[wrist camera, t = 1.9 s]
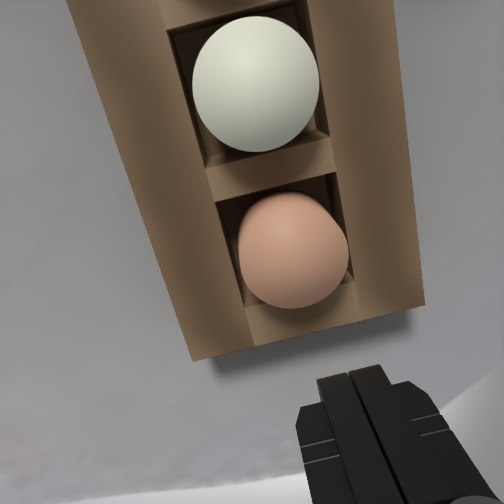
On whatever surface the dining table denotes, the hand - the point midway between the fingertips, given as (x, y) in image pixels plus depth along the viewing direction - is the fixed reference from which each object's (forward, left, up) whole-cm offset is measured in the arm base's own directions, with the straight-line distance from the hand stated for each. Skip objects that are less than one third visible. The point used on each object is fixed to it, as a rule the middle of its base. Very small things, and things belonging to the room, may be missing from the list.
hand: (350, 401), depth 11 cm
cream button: (0, -7, -12) cm, 14 cm away
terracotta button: (0, 0, -12) cm, 12 cm away
